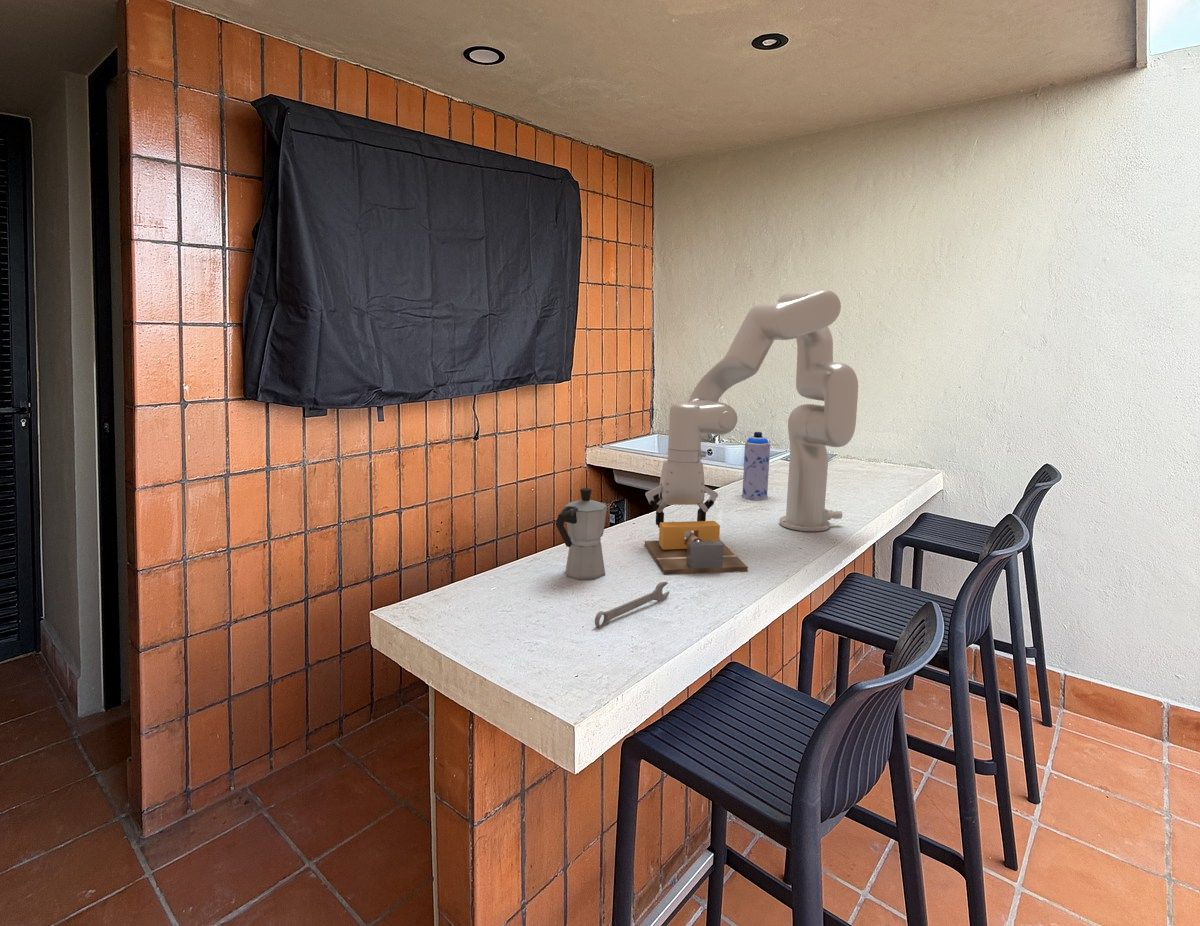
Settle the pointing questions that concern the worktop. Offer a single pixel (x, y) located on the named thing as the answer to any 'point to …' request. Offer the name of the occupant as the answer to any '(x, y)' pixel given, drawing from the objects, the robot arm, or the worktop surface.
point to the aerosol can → (756, 468)
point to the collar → (675, 533)
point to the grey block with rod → (703, 552)
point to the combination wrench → (632, 605)
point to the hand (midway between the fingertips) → (680, 527)
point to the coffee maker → (583, 536)
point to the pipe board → (676, 559)
